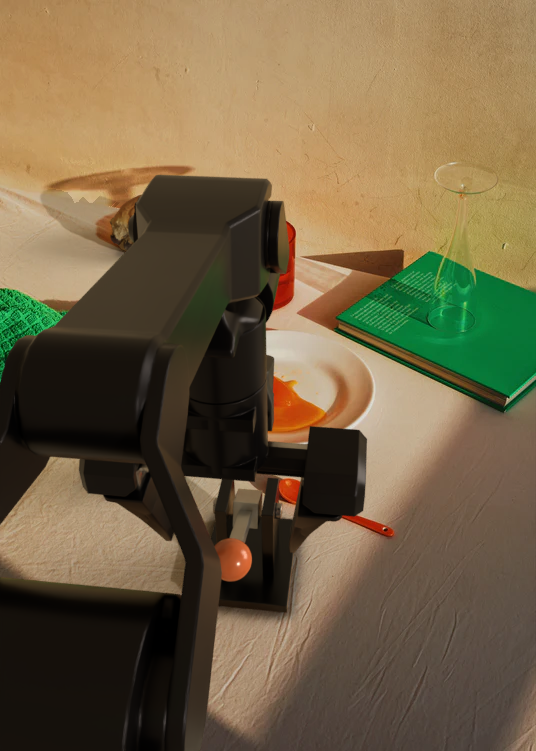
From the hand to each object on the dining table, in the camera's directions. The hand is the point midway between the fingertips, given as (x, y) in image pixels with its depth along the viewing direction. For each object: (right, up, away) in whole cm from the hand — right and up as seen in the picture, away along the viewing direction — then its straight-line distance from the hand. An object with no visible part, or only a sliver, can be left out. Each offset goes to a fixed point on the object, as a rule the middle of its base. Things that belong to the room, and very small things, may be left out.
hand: (231, 541), depth 55 cm
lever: (0, -2, +6) cm, 6 cm away
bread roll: (-18, +33, +66) cm, 76 cm away
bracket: (+1, -5, +14) cm, 15 cm away
